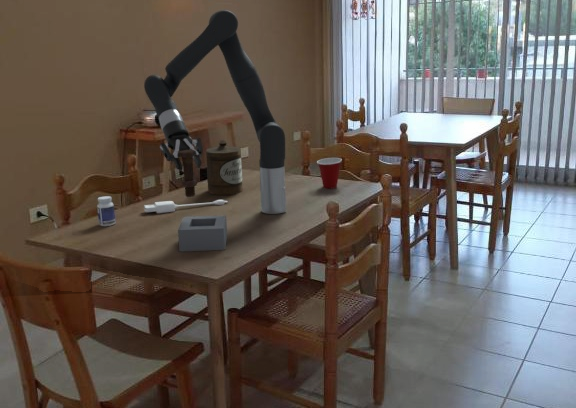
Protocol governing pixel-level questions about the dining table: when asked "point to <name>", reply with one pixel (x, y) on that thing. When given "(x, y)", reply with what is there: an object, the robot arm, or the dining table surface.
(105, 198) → the pill bottle
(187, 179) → the bolt
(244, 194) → the dining table surface
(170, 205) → the charging cable
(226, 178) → the wooden container
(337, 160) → the plastic cup
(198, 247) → the holder
